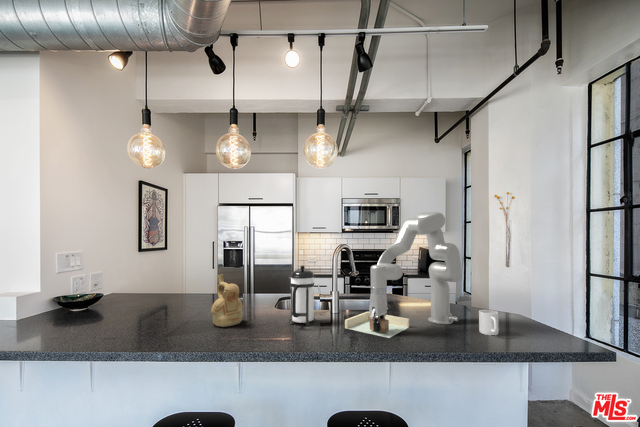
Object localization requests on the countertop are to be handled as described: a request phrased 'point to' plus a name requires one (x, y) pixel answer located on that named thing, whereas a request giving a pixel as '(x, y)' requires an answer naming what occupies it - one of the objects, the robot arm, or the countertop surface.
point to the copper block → (381, 325)
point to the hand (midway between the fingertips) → (379, 329)
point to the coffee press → (302, 296)
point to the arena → (363, 325)
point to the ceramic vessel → (227, 305)
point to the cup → (488, 322)
